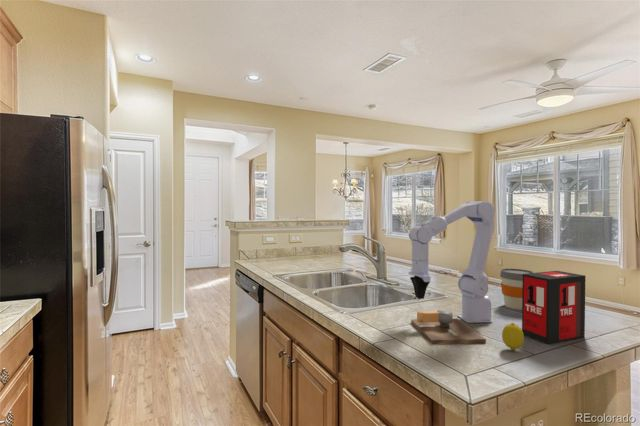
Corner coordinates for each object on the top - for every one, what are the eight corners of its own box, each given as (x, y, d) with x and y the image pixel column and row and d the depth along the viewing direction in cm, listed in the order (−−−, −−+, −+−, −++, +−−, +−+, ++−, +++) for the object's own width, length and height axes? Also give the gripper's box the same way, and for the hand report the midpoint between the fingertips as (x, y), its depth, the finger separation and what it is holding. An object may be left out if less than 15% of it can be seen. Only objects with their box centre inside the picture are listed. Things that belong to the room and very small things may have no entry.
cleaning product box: (548, 344, 102) (549, 279, 102) (521, 334, 111) (522, 273, 110) (584, 337, 108) (585, 275, 108) (556, 328, 116) (557, 270, 116)
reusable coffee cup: (534, 313, 133) (535, 275, 133) (498, 307, 140) (499, 272, 139) (534, 305, 144) (534, 270, 144) (500, 300, 150) (501, 267, 150)
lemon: (497, 346, 101) (498, 320, 101) (515, 346, 101) (515, 319, 101) (509, 354, 95) (510, 326, 95) (528, 354, 96) (528, 326, 96)
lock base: (457, 321, 122) (457, 314, 122) (485, 342, 103) (485, 334, 103) (411, 322, 121) (411, 315, 121) (431, 344, 102) (431, 335, 102)
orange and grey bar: (448, 318, 117) (448, 309, 117) (455, 323, 112) (455, 314, 112) (414, 319, 116) (414, 310, 116) (419, 324, 111) (419, 315, 111)
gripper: (402, 256, 127) (402, 292, 127) (415, 263, 112) (415, 303, 112) (421, 256, 127) (420, 292, 127) (436, 263, 113) (436, 303, 113)
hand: (419, 297), depth 120 cm, fingers closed
